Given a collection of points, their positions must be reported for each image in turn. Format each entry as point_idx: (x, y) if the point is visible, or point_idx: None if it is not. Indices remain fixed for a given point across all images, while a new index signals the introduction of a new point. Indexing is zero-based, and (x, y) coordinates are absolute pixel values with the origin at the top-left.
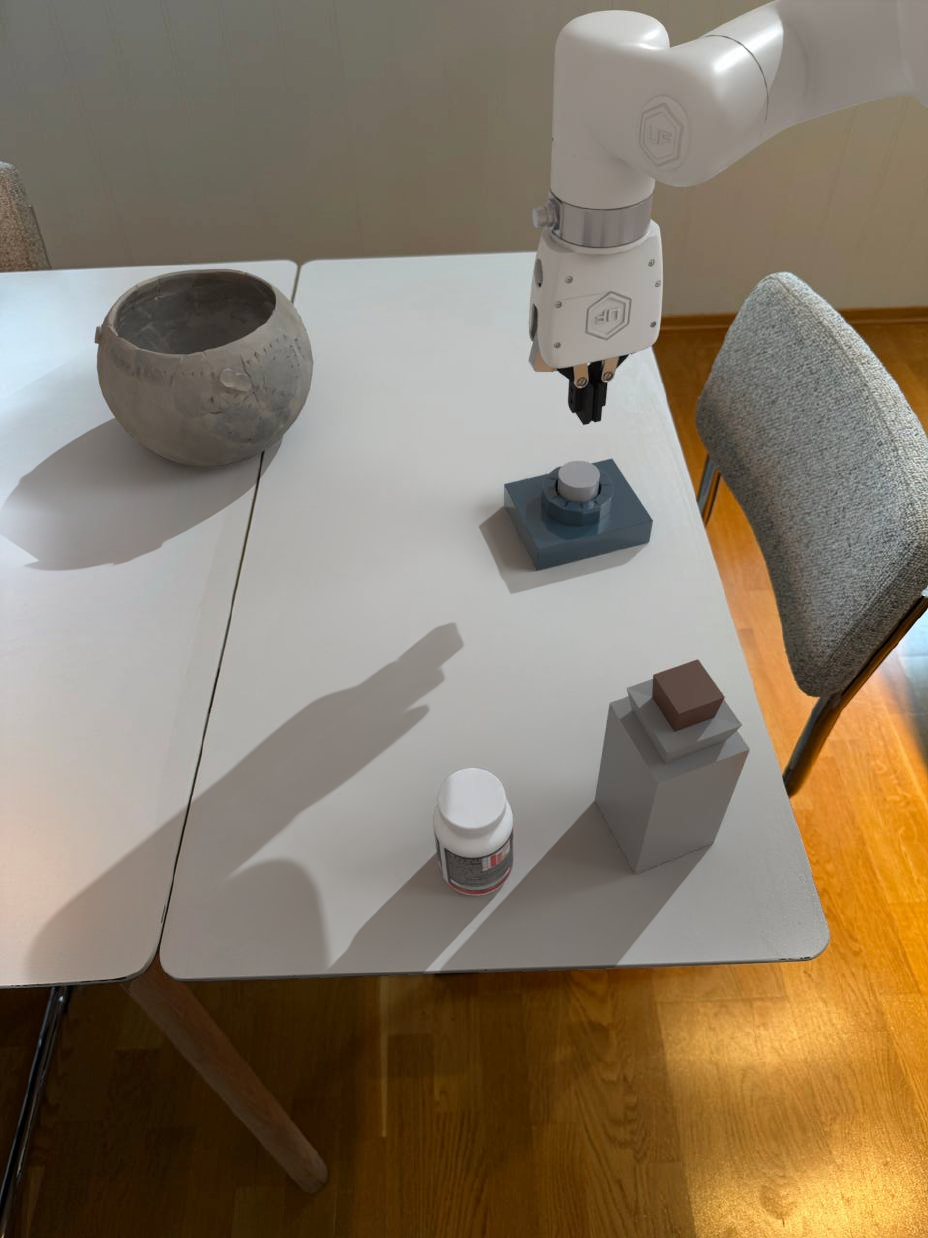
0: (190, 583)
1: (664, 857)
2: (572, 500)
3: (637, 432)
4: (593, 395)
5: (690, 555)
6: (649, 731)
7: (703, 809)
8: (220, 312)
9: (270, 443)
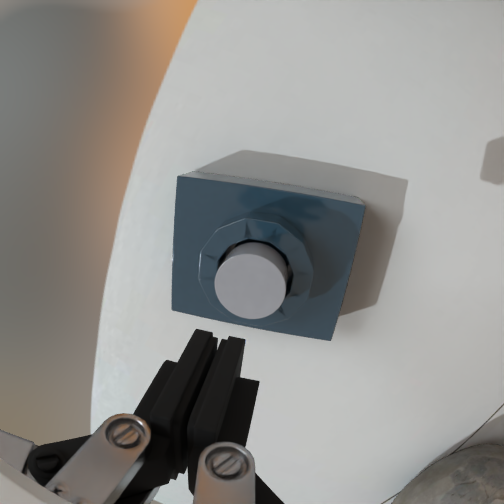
0: None
1: None
2: (278, 254)
3: (125, 335)
4: (197, 400)
5: (159, 128)
6: None
7: None
8: None
9: (464, 455)
